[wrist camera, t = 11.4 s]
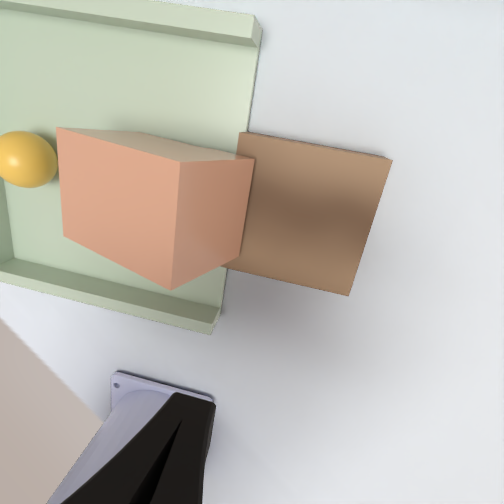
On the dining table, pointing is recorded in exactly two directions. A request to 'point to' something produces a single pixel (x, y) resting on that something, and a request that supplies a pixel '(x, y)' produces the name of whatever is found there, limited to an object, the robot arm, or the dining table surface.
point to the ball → (26, 159)
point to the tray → (117, 128)
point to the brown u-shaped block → (152, 201)
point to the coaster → (308, 211)
